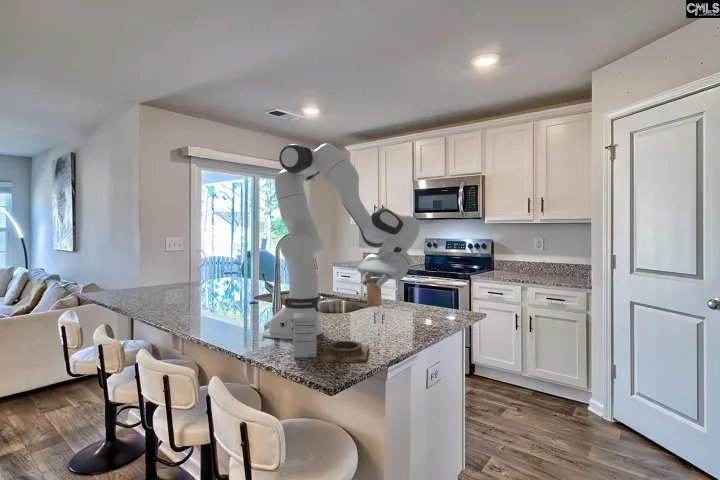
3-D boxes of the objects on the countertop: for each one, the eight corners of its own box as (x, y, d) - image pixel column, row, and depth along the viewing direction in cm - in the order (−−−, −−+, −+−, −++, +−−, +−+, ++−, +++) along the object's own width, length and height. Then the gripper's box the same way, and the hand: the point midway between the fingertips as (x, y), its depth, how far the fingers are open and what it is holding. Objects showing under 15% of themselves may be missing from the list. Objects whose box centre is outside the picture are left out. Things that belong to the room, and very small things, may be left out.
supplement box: (294, 350, 129) (294, 312, 129) (317, 349, 130) (316, 312, 129) (292, 358, 122) (292, 317, 121) (316, 357, 122) (316, 317, 122)
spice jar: (366, 306, 128) (365, 279, 128) (367, 304, 133) (366, 278, 133) (381, 306, 128) (380, 278, 128) (382, 304, 132) (381, 277, 133)
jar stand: (319, 361, 118) (319, 351, 118) (327, 347, 132) (327, 339, 132) (365, 362, 116) (365, 352, 116) (368, 348, 130) (368, 339, 130)
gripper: (366, 247, 142) (345, 276, 136) (407, 249, 126) (386, 282, 120) (375, 259, 145) (355, 288, 139) (417, 262, 129) (396, 295, 123)
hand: (370, 285), depth 129 cm, fingers closed on spice jar, 5 cm apart
